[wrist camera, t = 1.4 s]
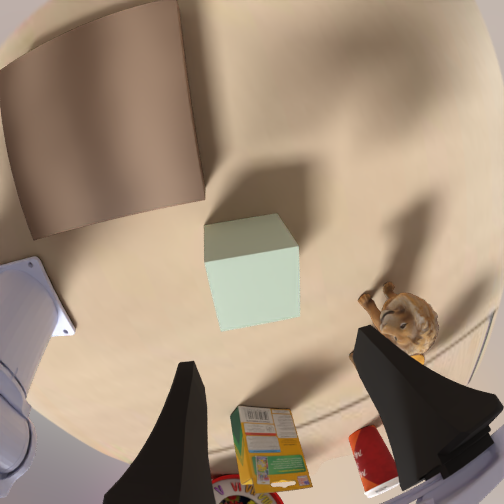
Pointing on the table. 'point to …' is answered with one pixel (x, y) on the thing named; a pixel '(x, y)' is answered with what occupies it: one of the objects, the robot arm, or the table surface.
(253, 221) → the sage cube
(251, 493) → the toy clock
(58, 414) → the table surface
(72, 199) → the walnut block
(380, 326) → the tan animal figurine
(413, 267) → the table surface
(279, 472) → the crayon box
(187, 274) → the table surface
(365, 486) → the paper cup
